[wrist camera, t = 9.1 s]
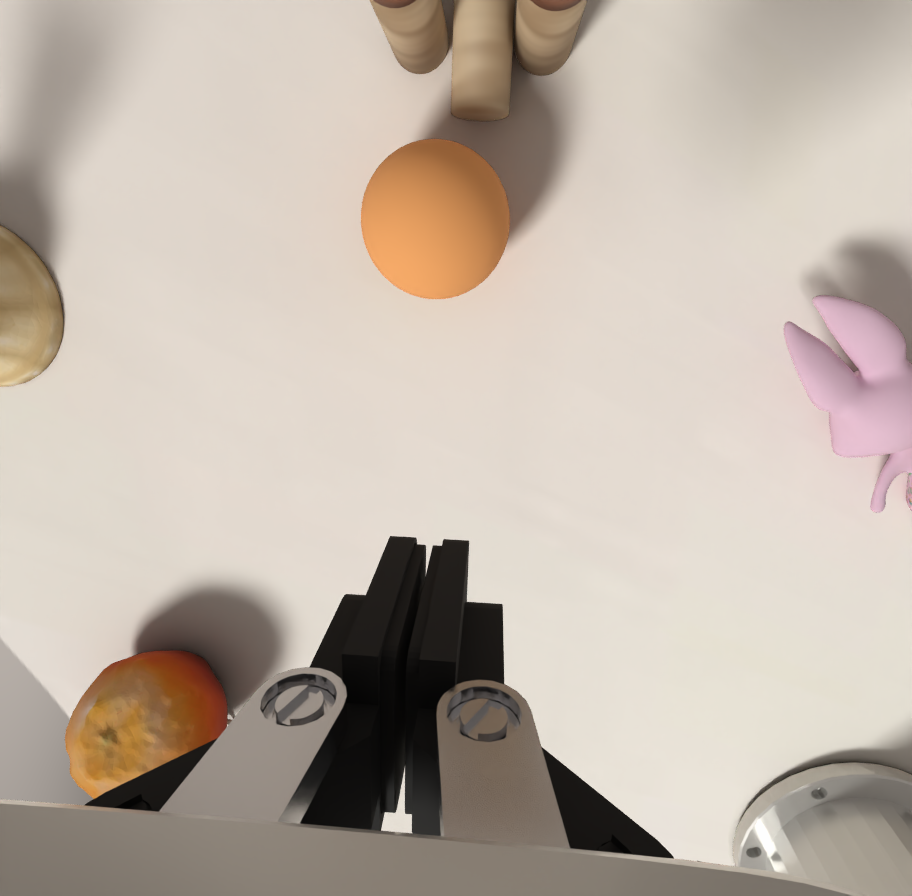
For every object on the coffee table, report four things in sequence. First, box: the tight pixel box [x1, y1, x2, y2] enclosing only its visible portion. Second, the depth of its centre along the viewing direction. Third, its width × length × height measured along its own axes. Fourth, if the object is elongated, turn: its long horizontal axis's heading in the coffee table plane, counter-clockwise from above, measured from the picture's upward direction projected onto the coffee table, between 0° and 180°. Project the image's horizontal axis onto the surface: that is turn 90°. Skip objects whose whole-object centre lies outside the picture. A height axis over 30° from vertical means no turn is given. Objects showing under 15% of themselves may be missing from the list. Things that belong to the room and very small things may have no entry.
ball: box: [361, 139, 510, 299], centre depth 23 cm, size 6×6×6 cm
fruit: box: [65, 650, 232, 799], centre depth 32 cm, size 8×8×8 cm
